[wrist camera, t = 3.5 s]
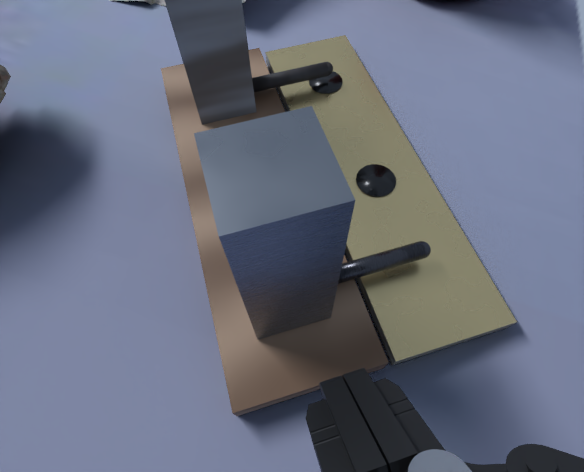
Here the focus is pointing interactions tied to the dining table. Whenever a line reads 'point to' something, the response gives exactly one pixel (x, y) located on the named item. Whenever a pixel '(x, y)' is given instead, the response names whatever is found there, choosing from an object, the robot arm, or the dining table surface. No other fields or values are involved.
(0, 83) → the pine cone
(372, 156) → the bolt plate
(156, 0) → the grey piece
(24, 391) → the dining table surface
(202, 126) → the base
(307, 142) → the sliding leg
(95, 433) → the dining table surface
